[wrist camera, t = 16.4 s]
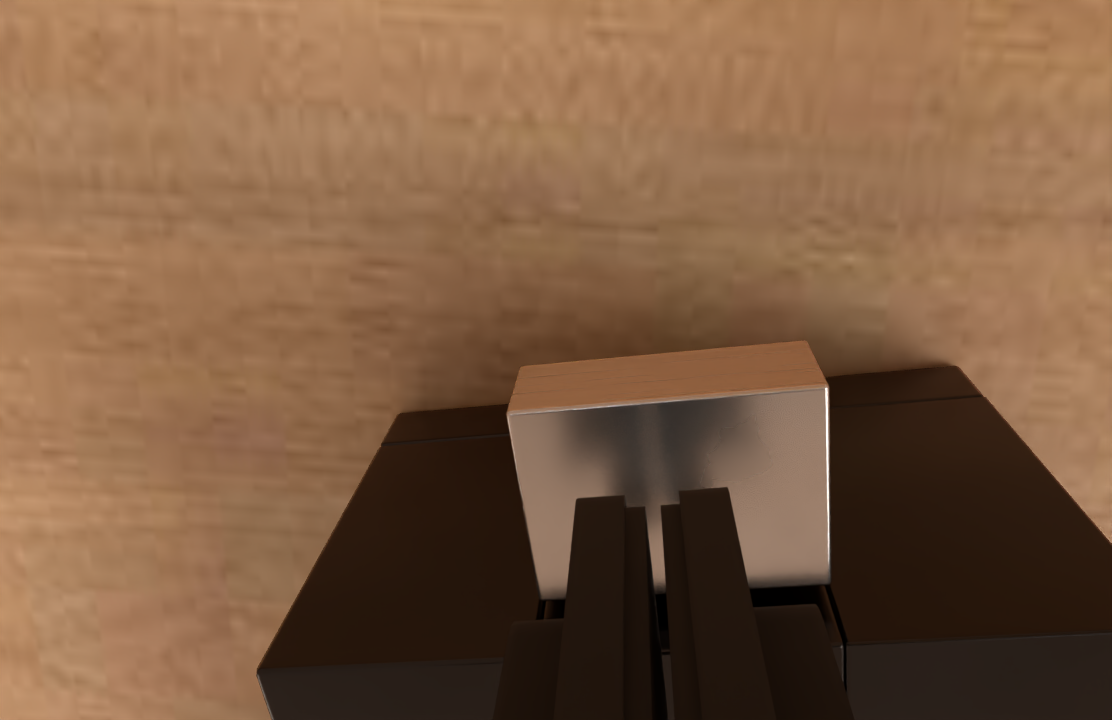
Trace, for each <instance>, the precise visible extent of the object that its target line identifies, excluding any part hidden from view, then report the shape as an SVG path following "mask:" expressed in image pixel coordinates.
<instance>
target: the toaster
mask: <svg viewBox="0 0 1112 720" xmlns="http://www.w3.org/2000/svg"><path fill="white" fill-rule="evenodd" d="M825 379H826V381H827V383H828V385H829V394H830V470H831V546H832V581H831V584H830V585H825V586H807V587H789V588H771V589H753V590H750V595H751V600H752V604H753V607H769V606H786V605H803V604H816V605H817V606H818V608H819V610H820V612H821V615H822V618H823V621H824V624H825V627H826V630H827V633H828V637H829V640H830V643H831V646H832V649H833V652H834V656H835V659H836V662H837V665H838V668H839V671H840V675H841V678H842V681H843V684H844V687H845V690H846V694H847V697H848V700H849V703H850V706H851V709H852V713H853V716H854V719H855V720H1112V544H1111V543H1110V541H1109V540H1108V539H1107V538H1106V537H1105V536H1104V534H1103V533H1102V532H1101V531H1100V530H1099V529H1098V527H1097V526H1096V525H1095V524H1094V523H1093V522H1092V520H1091V519H1090V518H1089V517H1088V516H1087V515H1086V513H1085V512H1084V511H1083V510H1082V509H1081V508H1080V506H1079V505H1078V504H1077V503H1076V502H1075V501H1074V499H1073V498H1072V497H1071V496H1070V495H1069V494H1068V492H1067V491H1066V490H1065V489H1064V488H1063V487H1062V485H1061V484H1060V483H1059V482H1058V481H1057V480H1056V479H1055V477H1054V476H1053V475H1052V474H1051V473H1050V472H1049V470H1048V469H1047V468H1046V467H1045V466H1044V465H1043V463H1042V462H1041V461H1040V460H1039V459H1038V458H1037V456H1036V455H1035V454H1034V453H1033V452H1032V451H1031V449H1030V448H1029V447H1028V446H1027V445H1026V444H1025V442H1024V441H1023V440H1022V439H1021V438H1020V437H1019V435H1018V434H1017V433H1016V432H1015V431H1014V430H1013V428H1012V427H1011V426H1010V425H1009V424H1008V423H1007V421H1006V420H1005V419H1004V418H1003V417H1002V416H1001V414H1000V413H999V412H998V411H997V410H996V409H995V407H994V406H993V405H992V404H991V403H990V402H989V401H988V399H987V398H986V397H983V395H982V394H981V392H980V391H979V390H978V389H977V388H976V387H975V385H974V384H973V383H972V382H971V381H970V380H969V378H968V377H967V376H966V375H965V374H964V373H963V371H962V370H961V369H960V368H959V367H957V366H949V367H937V368H925V369H914V370H902V371H890V372H879V373H867V374H855V375H844V376H832V377H825ZM508 406H509V404H505V405H493V406H481V407H469V408H458V409H446V410H434V411H423V412H411V413H400V414H398V415H397V416H396V418H395V420H394V422H393V424H392V425H391V427H390V429H389V431H388V433H387V434H386V436H385V438H384V440H383V442H382V443H381V447H380V448H379V449H378V451H377V453H376V455H375V456H374V458H373V460H372V462H371V464H370V465H369V467H368V469H367V471H366V473H365V474H364V476H363V478H362V480H361V482H360V483H359V485H358V487H357V489H356V491H355V492H354V494H353V496H352V498H351V500H350V501H349V503H348V505H347V507H346V509H345V511H344V512H343V514H342V516H341V518H340V520H339V521H338V523H337V525H336V527H335V529H334V530H333V532H332V534H331V536H330V538H329V539H328V541H327V543H326V545H325V547H324V548H323V550H322V552H321V554H320V556H319V558H318V559H317V561H316V563H315V565H314V567H313V568H312V570H311V572H310V574H309V576H308V577H307V579H306V581H305V583H304V585H303V586H302V588H301V590H300V592H299V594H298V595H297V597H296V599H295V601H294V603H293V605H292V606H291V608H290V610H289V612H288V614H287V615H286V617H285V619H284V621H283V623H282V624H281V626H280V628H279V630H278V632H277V633H276V635H275V637H274V639H273V641H272V642H271V644H270V646H269V648H268V650H267V651H266V653H265V655H264V657H263V659H262V661H261V662H260V664H259V666H258V668H257V679H258V681H259V684H260V687H261V690H262V693H263V696H264V699H265V702H266V705H267V708H268V710H269V713H270V716H271V719H272V720H493V715H494V709H495V704H496V699H497V693H498V688H499V683H500V677H501V672H502V666H503V661H504V656H505V650H506V645H507V640H508V635H509V631H510V627H511V625H512V624H513V622H514V621H527V620H545V619H562V618H564V611H565V601H566V600H554V601H541V600H540V599H539V597H538V594H537V588H536V582H535V577H534V571H533V565H532V560H531V554H530V548H529V542H528V537H527V531H526V525H525V520H524V514H523V508H522V502H521V497H520V491H519V485H518V480H517V474H516V468H515V462H514V457H513V451H512V445H511V440H510V434H509V428H508V422H507V417H506V413H507V409H508ZM655 599H656V608H657V617H658V626H659V635H660V644H661V653H662V662H663V671H664V680H665V690H666V700H667V711H668V720H675V717H674V702H673V687H672V672H671V657H670V642H669V627H668V611H667V596H666V594H662V595H655Z"/></svg>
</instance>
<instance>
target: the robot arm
mask: <svg viewBox="0 0 1112 720" xmlns="http://www.w3.org/2000/svg"><path fill="white" fill-rule="evenodd" d="M679 500H680V504H668V505H661V521H662V536H663V551H664V566H665V581H666V596H667V611H668V627H669V642H670V657H671V672H672V687H673V702H674V717H675V720H855V719H854V716H853V713H852V709H851V706H850V703H849V700H848V697H847V694H846V690H845V687H844V684H843V681H842V678H841V675H840V671H839V668H838V665H837V662H836V659H835V656H834V652H833V649H832V646H831V643H830V640H829V637H828V633H827V630H826V627H825V624H824V621H823V618H822V615H821V612H820V610H819V608H818V606H817V605H816V604H803V605H786V606H769V607H753V604H752V600H751V595H750V590H749V585H748V580H747V575H746V571H745V566H744V561H743V556H742V551H741V546H740V542H739V537H738V532H737V527H736V522H735V517H734V513H733V508H732V503H731V498H730V493H729V489H728V487H720V488H706V489H693V490H679ZM493 720H668V711H667V700H666V690H665V680H664V671H663V662H662V653H661V644H660V635H659V626H658V617H657V608H656V599H655V590H654V580H653V571H652V562H651V553H650V544H649V535H648V526H647V517H646V509H645V506H640V507H627V503H626V497H625V495H613V496H599V497H586V498H577V499H576V503H575V512H574V522H573V532H572V542H571V552H570V561H569V571H568V581H567V591H566V601H565V611H564V618H562V619H545V620H527V621H514V622H513V624H512V625H511V627H510V631H509V635H508V640H507V645H506V650H505V656H504V661H503V666H502V672H501V677H500V683H499V688H498V693H497V699H496V704H495V709H494V715H493Z"/></svg>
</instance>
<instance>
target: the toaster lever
mask: <svg viewBox="0 0 1112 720" xmlns="http://www.w3.org/2000/svg"><path fill="white" fill-rule="evenodd" d="M506 417H507V422H508V428H509V434H510V440H511V445H512V451H513V457H514V462H515V468H516V474H517V480H518V485H519V491H520V497H521V502H522V508H523V514H524V520H525V525H526V531H527V537H528V542H529V548H530V554H531V560H532V565H533V571H534V577H535V582H536V588H537V594H538V597H539V599H540V600H541V601H554V600H566V591H567V581H568V571H569V561H570V552H571V542H572V532H573V522H574V512H575V503H576V499H577V498H586V497H599V496H613V495H625V497H626V503H627V507H640V506H645V509H646V517H647V526H648V535H649V544H650V553H651V562H652V571H653V580H654V590H655V595H662V594H666V581H665V566H664V551H663V536H662V521H661V505H668V504H680V500H679V490H693V489H706V488H720V487H728V489H729V493H730V498H731V503H732V508H733V513H734V517H735V522H736V527H737V532H738V537H739V542H740V546H741V551H742V556H743V561H744V566H745V571H746V575H747V580H748V585H749V590H753V589H771V588H789V587H807V586H825V585H830V584H831V581H832V546H831V470H830V394H829V385H828V383H827V381H826V379H825V377H824V375H823V373H822V371H821V369H820V367H819V365H818V363H817V361H816V359H815V357H814V355H813V353H812V351H811V349H810V347H809V345H808V343H807V341H803V340H802V341H791V342H780V343H769V344H758V345H747V346H736V347H725V348H714V349H703V350H692V351H681V352H670V353H659V354H648V355H637V356H627V357H616V358H605V359H594V360H583V361H572V362H561V363H550V364H539V365H528V366H522V367H520V369H519V373H518V376H517V379H516V383H515V386H514V389H513V393H512V396H511V399H510V403H509V406H508V409H507V413H506Z"/></svg>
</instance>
